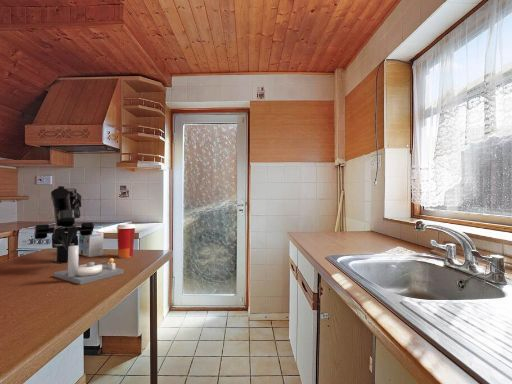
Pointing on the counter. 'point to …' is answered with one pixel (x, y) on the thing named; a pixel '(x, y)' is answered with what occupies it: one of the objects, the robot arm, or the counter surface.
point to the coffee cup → (125, 240)
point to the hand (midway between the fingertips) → (67, 248)
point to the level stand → (106, 272)
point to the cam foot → (83, 269)
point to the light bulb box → (91, 244)
